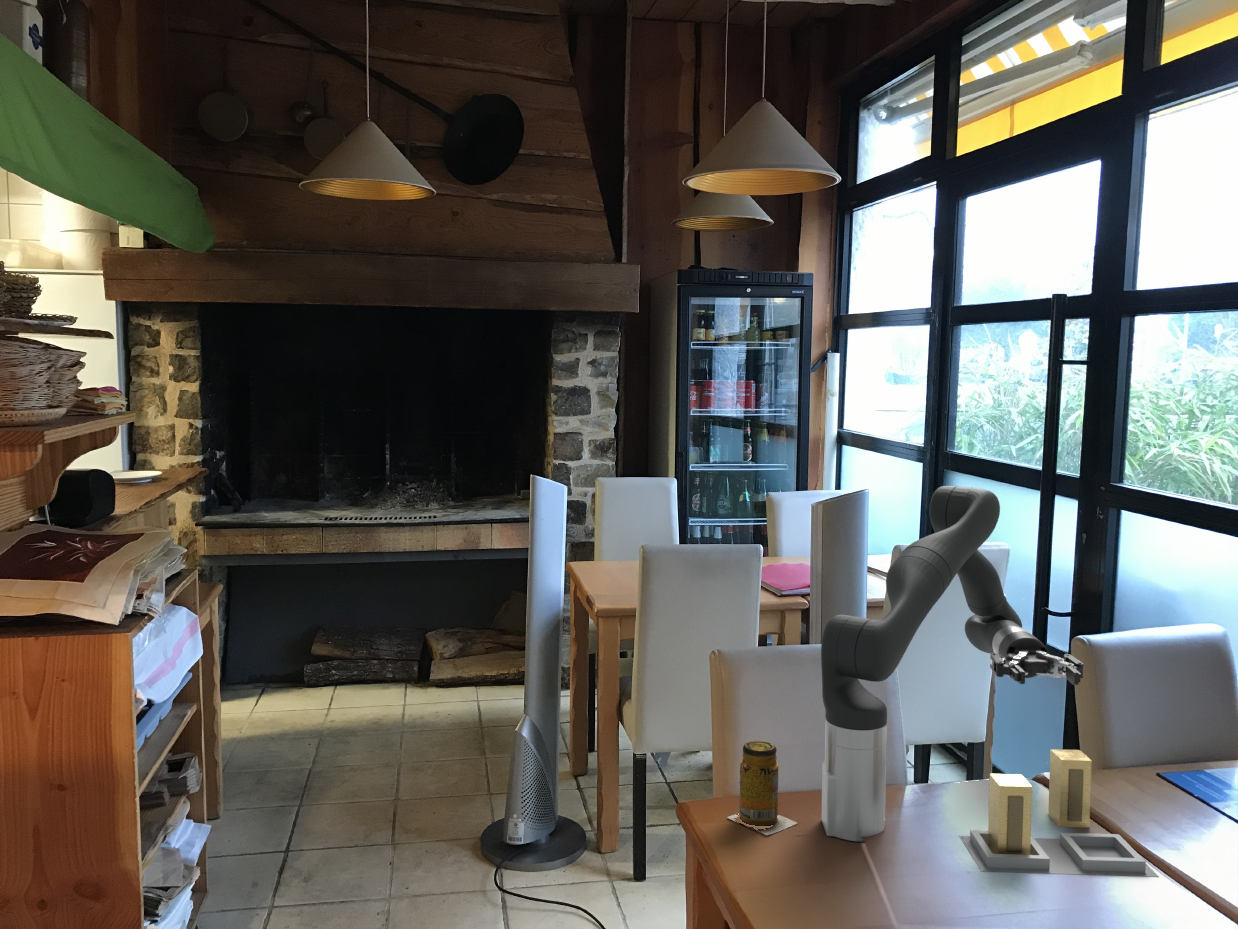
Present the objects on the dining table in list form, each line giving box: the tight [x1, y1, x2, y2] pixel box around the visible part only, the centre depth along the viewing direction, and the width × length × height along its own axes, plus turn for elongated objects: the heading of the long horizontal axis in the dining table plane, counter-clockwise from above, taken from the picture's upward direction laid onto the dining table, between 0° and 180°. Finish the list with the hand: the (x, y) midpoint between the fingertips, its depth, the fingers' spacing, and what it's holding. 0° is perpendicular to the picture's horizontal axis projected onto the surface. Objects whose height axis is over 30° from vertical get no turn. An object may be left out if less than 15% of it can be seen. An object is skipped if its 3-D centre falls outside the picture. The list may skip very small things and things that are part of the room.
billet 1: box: [987, 773, 1033, 855], centre depth 142 cm, size 4×5×11 cm
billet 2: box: [1047, 748, 1092, 829], centre depth 153 cm, size 4×5×11 cm
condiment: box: [726, 740, 798, 836], centre depth 155 cm, size 7×8×12 cm
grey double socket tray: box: [959, 829, 1160, 878], centre depth 142 cm, size 24×11×2 cm, turn 86°
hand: (1049, 678), depth 162 cm, fingers open, 8 cm apart
